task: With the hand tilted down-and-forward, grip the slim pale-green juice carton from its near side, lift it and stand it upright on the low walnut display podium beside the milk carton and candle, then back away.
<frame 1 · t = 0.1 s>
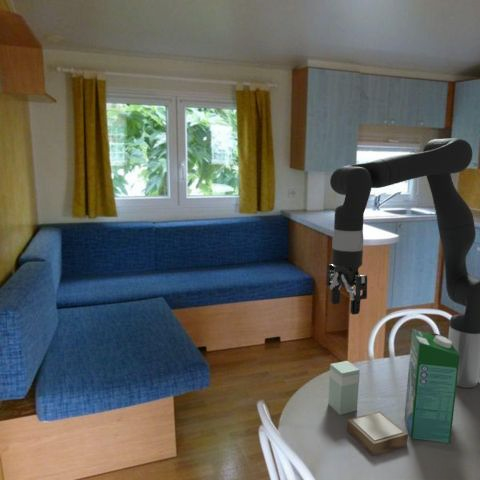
hand: (344, 308, 110), 29 cm above the table, tool pointing down, fingers open, 8 cm apart
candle: (428, 406, 118), on the table
milk carton: (426, 430, 107), on the table
walnut podium: (376, 437, 104), on the table
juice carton: (342, 407, 117), on the table
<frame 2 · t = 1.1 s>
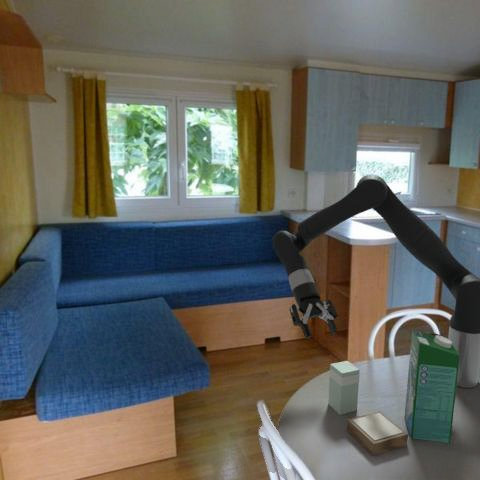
hand: (322, 335, 124), 16 cm above the table, tool tilted 45°, fingers open, 8 cm apart
nothing on the table moved.
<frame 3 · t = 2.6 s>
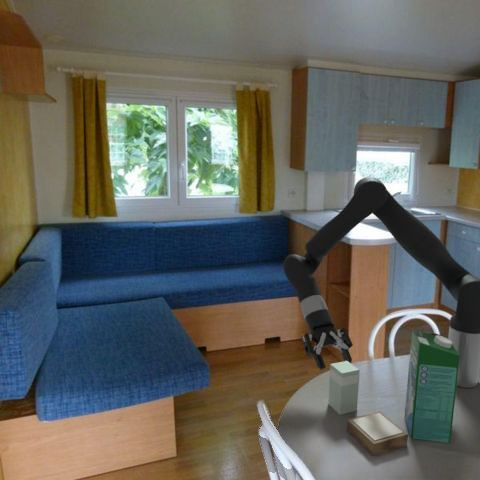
hand: (336, 366, 118), 10 cm above the table, tool tilted 45°, fingers open, 8 cm apart
nothing on the table moved.
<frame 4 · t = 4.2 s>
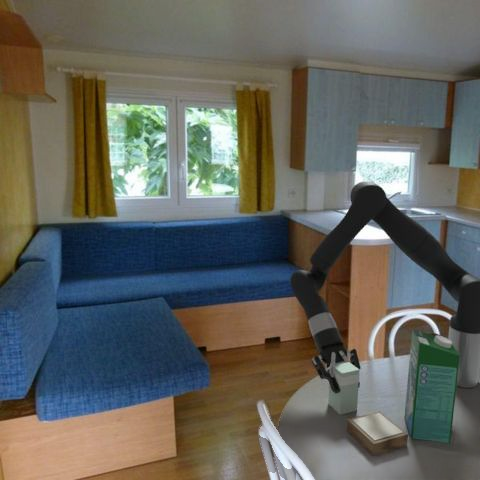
hand: (347, 390, 114), 6 cm above the table, tool tilted 45°, fingers closed on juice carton, 5 cm apart
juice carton: (342, 407, 117), on the table, touching gripper
everything else where it was.
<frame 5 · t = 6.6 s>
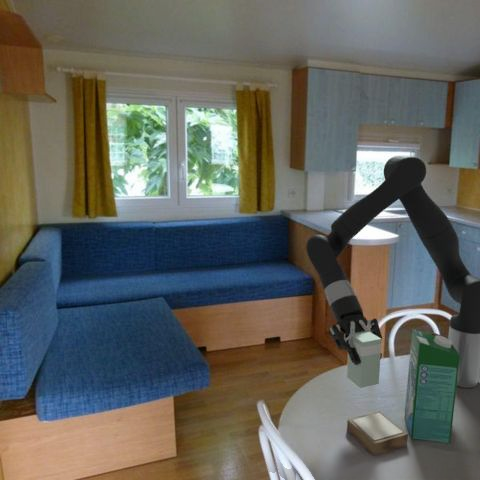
hand: (368, 361, 105), 18 cm above the table, tool tilted 45°, fingers closed on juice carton, 5 cm apart
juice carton: (362, 380, 108), point 12 cm above the table, touching gripper
everything else where it was.
when the fingers open (11 cm above the table, at t = 9.0 s): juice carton drops 1 cm, resting on walnut podium.
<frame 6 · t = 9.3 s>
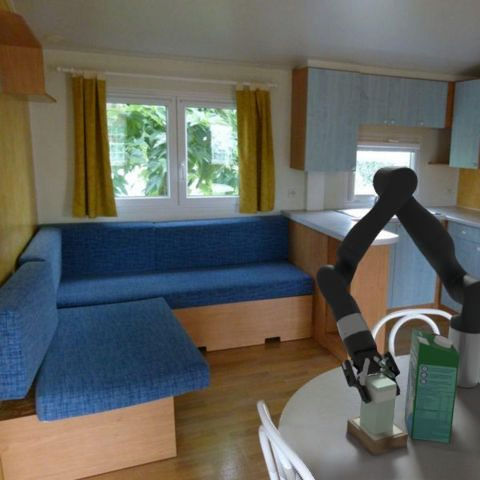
hand: (383, 399, 101), 11 cm above the table, tool tilted 45°, fingers open, 8 cm apart
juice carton: (376, 425, 103), point 3 cm above the table, touching walnut podium
everything else where it was.
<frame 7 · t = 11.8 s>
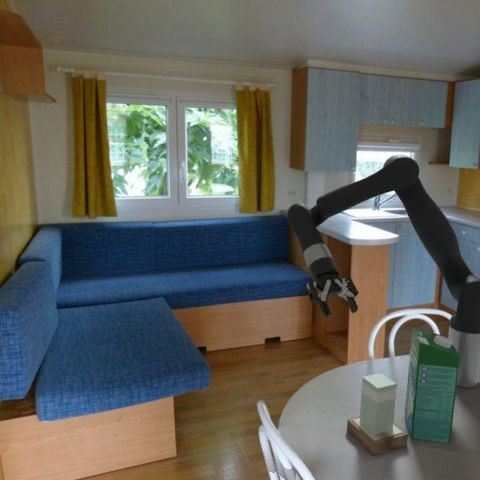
hand: (342, 313, 114), 26 cm above the table, tool tilted 45°, fingers open, 8 cm apart
nothing on the table moved.
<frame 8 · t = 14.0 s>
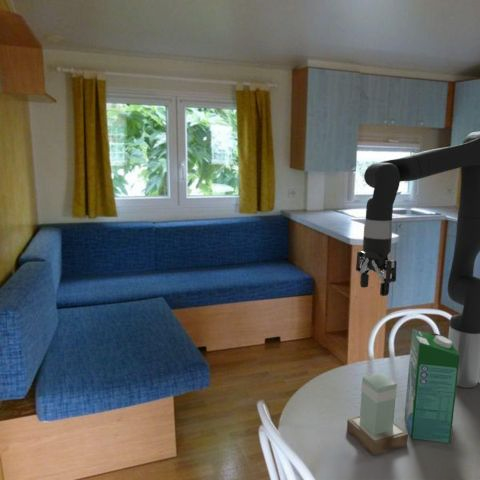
hand: (373, 291, 121), 30 cm above the table, tool pointing down, fingers open, 8 cm apart
nothing on the table moved.
at the end: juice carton inside the target area on the walnut podium (0.2 cm from its centre), point 3.2 cm above the walnut podium's base; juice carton tilted 0°; the gripper is holding nothing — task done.
